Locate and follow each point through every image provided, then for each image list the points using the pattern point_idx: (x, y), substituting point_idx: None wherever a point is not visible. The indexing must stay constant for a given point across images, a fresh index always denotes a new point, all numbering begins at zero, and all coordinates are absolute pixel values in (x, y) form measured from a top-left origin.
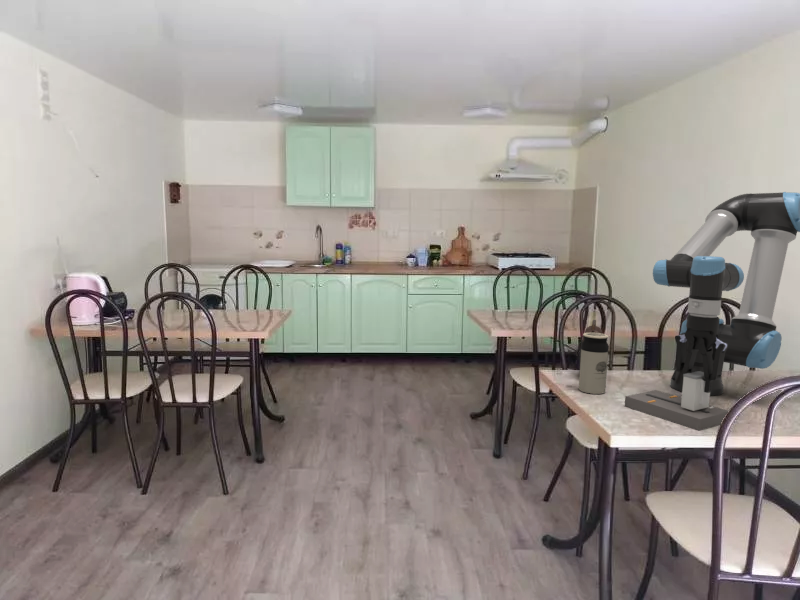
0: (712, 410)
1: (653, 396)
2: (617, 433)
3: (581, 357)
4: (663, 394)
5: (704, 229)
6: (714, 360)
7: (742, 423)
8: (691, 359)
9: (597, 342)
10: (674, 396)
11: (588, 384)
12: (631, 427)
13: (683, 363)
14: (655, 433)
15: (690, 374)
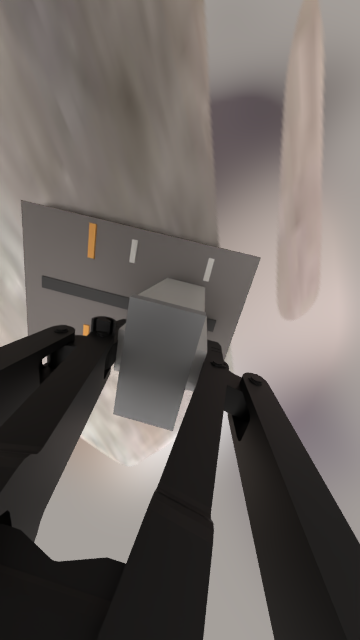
0: (217, 294)
1: (63, 291)
2: (127, 462)
3: None
4: (62, 236)
5: None
6: (257, 542)
7: (283, 239)
8: (76, 433)
9: None
10: (93, 239)
11: None
12: (125, 429)
13: (41, 353)
14: (163, 431)
15: (134, 400)
